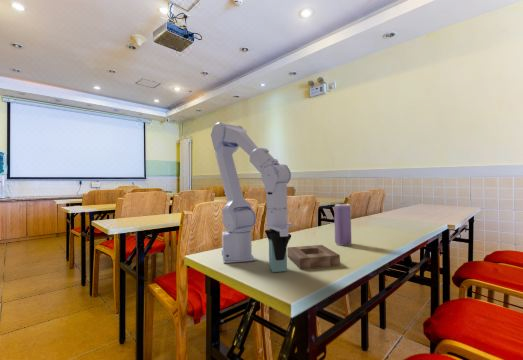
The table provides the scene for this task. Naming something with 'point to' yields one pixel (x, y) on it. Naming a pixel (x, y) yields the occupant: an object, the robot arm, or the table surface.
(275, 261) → the bracket post
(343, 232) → the beverage can
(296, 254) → the well block
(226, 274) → the table surface
